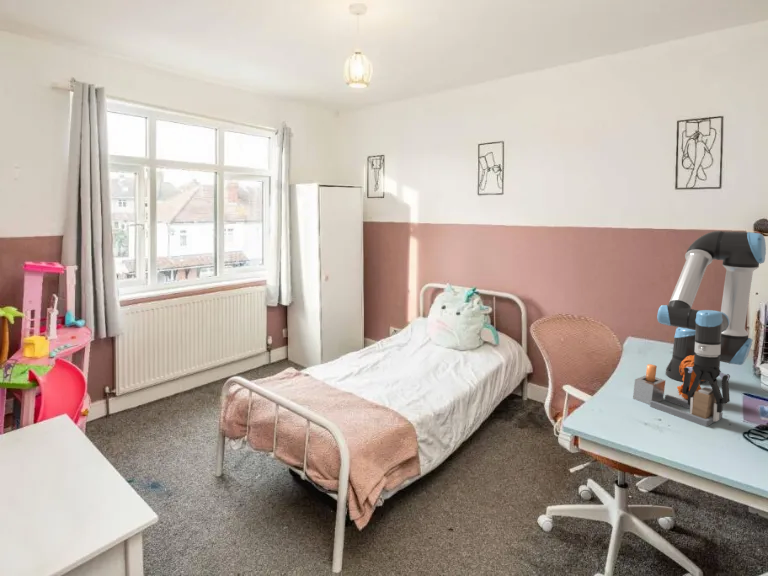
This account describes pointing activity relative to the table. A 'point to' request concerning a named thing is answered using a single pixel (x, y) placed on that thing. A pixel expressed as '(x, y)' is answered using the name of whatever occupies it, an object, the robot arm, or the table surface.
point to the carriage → (704, 403)
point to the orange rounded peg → (651, 373)
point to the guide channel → (681, 413)
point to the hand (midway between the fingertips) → (704, 417)
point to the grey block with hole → (648, 390)
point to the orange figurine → (685, 363)
